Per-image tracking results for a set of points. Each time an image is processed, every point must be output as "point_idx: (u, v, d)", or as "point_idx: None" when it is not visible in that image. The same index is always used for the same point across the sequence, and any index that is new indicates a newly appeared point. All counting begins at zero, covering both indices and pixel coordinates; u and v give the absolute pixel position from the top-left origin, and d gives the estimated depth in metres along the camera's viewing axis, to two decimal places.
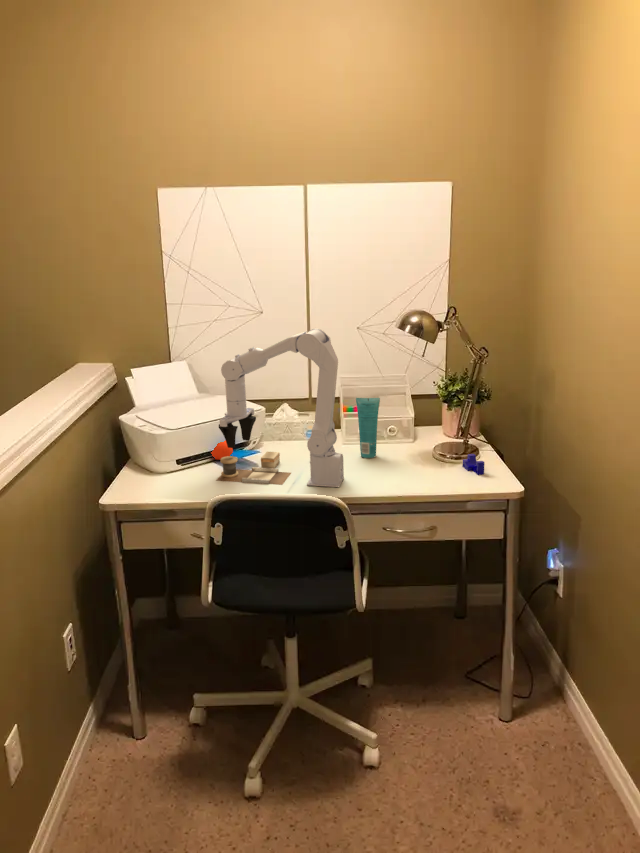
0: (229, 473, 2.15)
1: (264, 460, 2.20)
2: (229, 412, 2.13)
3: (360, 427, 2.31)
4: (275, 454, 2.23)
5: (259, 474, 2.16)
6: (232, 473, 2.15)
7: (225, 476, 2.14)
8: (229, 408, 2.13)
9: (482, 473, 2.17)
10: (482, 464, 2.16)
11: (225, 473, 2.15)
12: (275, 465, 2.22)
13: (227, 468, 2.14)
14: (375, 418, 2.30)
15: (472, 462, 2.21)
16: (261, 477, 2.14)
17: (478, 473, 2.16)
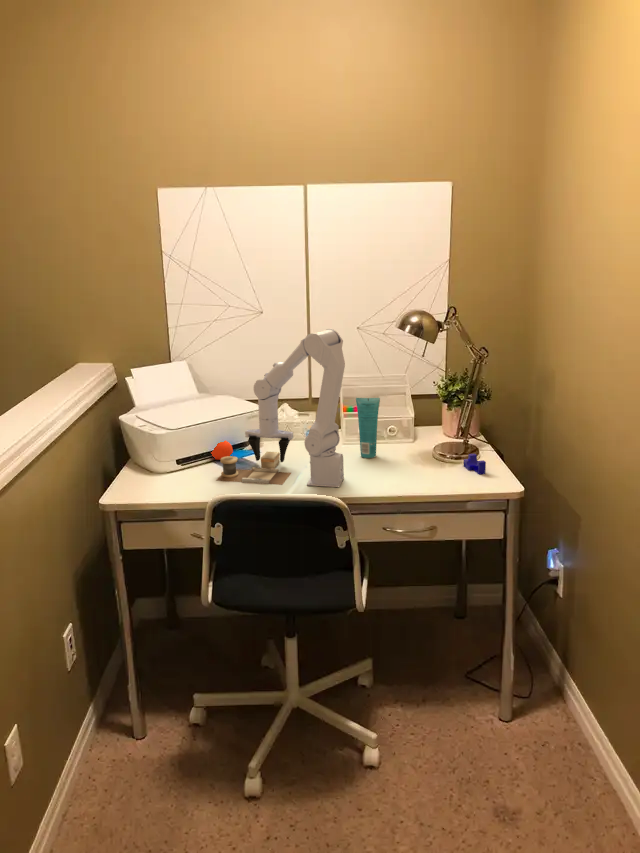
0: (229, 473, 2.15)
1: (264, 460, 2.20)
2: None
3: (360, 427, 2.31)
4: (275, 454, 2.23)
5: (259, 474, 2.16)
6: (232, 473, 2.15)
7: (225, 476, 2.14)
8: None
9: (484, 472, 2.17)
10: (483, 464, 2.16)
11: (225, 473, 2.15)
12: (275, 465, 2.22)
13: (227, 468, 2.14)
14: (375, 418, 2.30)
15: (473, 462, 2.21)
16: (261, 477, 2.14)
17: (479, 473, 2.17)
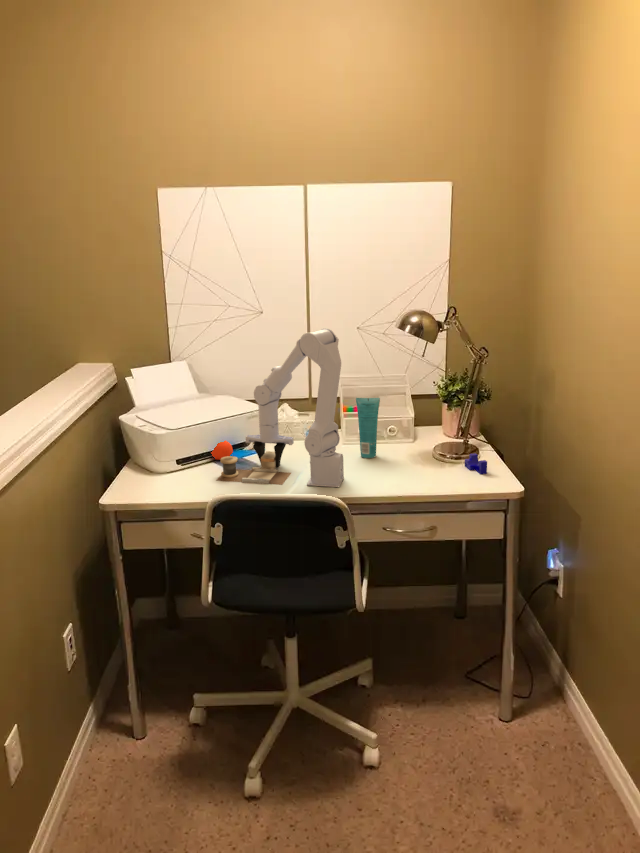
0: (229, 473, 2.15)
1: (264, 460, 2.20)
2: None
3: (360, 427, 2.31)
4: None
5: (259, 474, 2.16)
6: (232, 473, 2.15)
7: (225, 476, 2.14)
8: None
9: (485, 472, 2.17)
10: (485, 463, 2.16)
11: (225, 473, 2.15)
12: (275, 465, 2.22)
13: (227, 468, 2.14)
14: (375, 418, 2.30)
15: (474, 462, 2.22)
16: (261, 477, 2.14)
17: (481, 472, 2.17)
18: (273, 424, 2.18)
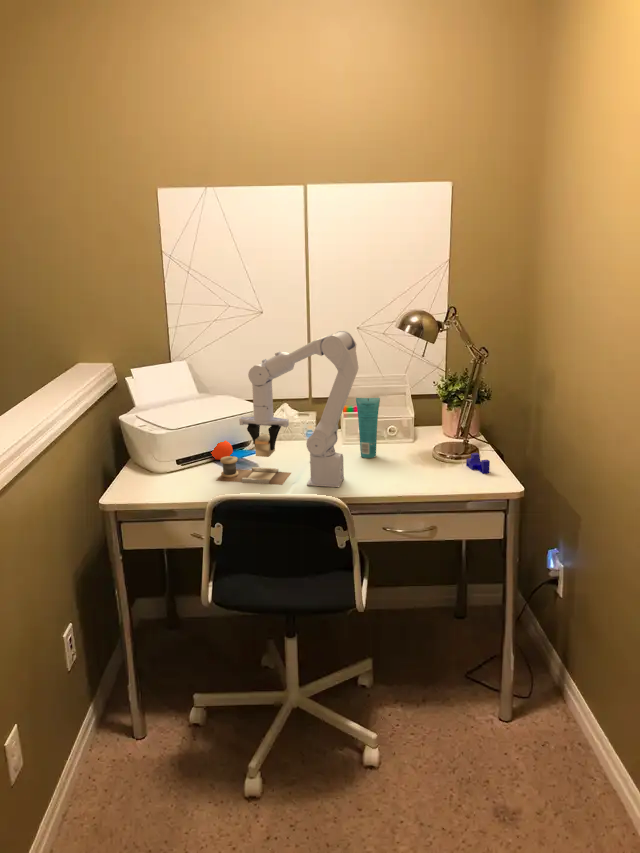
0: (229, 473, 2.15)
1: (258, 442, 2.14)
2: None
3: (360, 427, 2.31)
4: None
5: (259, 474, 2.16)
6: (232, 473, 2.15)
7: (225, 476, 2.14)
8: None
9: (488, 472, 2.17)
10: (487, 463, 2.17)
11: (225, 473, 2.15)
12: None
13: (227, 468, 2.14)
14: (375, 418, 2.30)
15: (476, 461, 2.22)
16: (261, 477, 2.14)
17: (483, 472, 2.17)
18: (267, 405, 2.11)
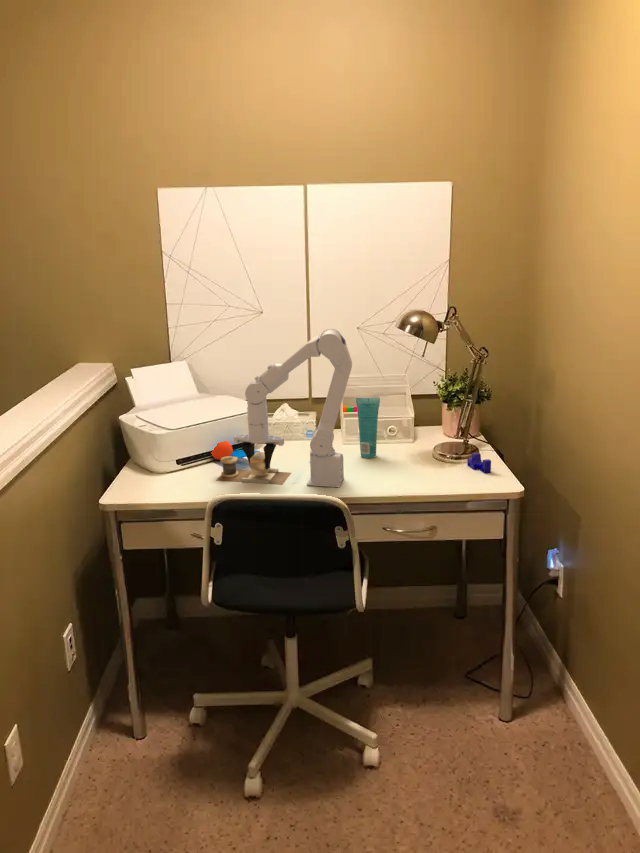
0: (229, 473, 2.15)
1: (253, 461, 2.10)
2: None
3: (360, 427, 2.31)
4: None
5: None
6: (232, 473, 2.15)
7: (225, 476, 2.14)
8: None
9: (489, 471, 2.18)
10: (489, 462, 2.17)
11: (225, 473, 2.15)
12: None
13: (227, 468, 2.14)
14: (375, 418, 2.30)
15: (477, 461, 2.22)
16: (261, 477, 2.14)
17: (485, 471, 2.17)
18: (262, 424, 2.08)
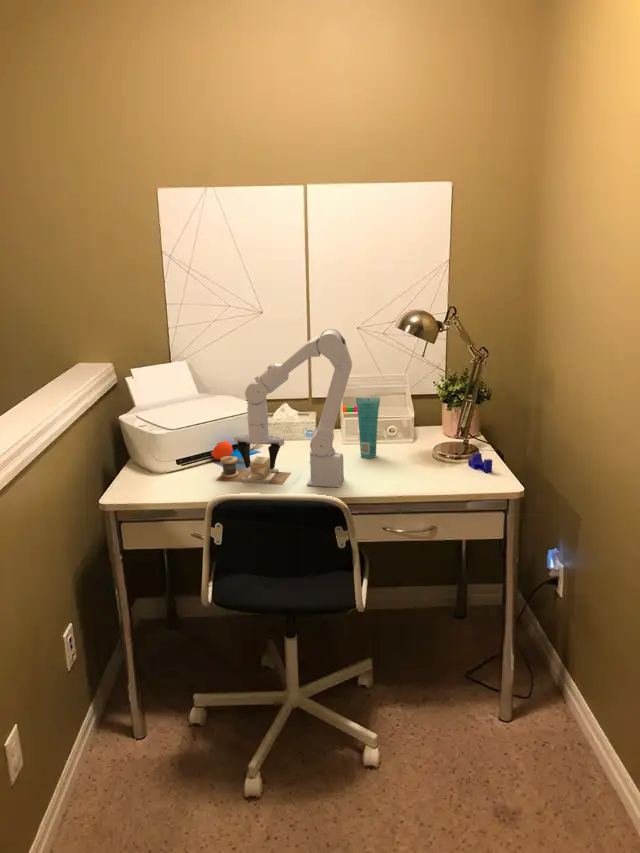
0: (229, 473, 2.15)
1: (253, 466, 2.11)
2: None
3: (360, 427, 2.31)
4: (265, 459, 2.14)
5: None
6: (232, 473, 2.15)
7: (225, 476, 2.14)
8: None
9: (490, 471, 2.18)
10: (490, 462, 2.17)
11: (225, 473, 2.15)
12: (265, 471, 2.12)
13: (227, 468, 2.14)
14: (375, 418, 2.30)
15: (478, 460, 2.22)
16: None
17: (486, 471, 2.18)
18: (262, 424, 2.08)
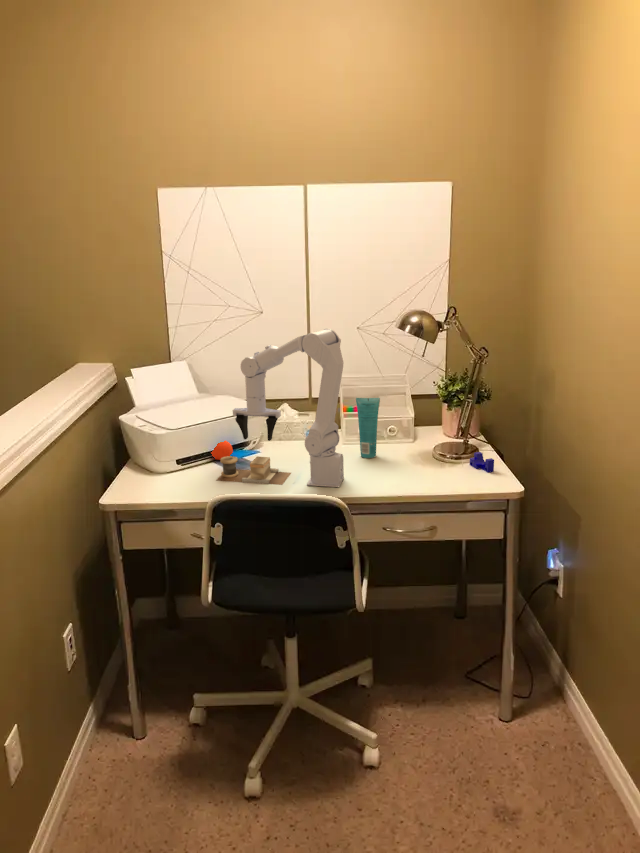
0: (229, 473, 2.15)
1: (253, 466, 2.11)
2: None
3: (360, 427, 2.31)
4: (265, 459, 2.14)
5: None
6: (232, 473, 2.15)
7: (225, 476, 2.14)
8: None
9: (492, 470, 2.18)
10: (492, 462, 2.18)
11: (225, 473, 2.15)
12: (265, 471, 2.12)
13: (227, 468, 2.14)
14: (375, 418, 2.30)
15: (480, 460, 2.23)
16: None
17: (488, 471, 2.18)
18: (260, 397, 2.17)
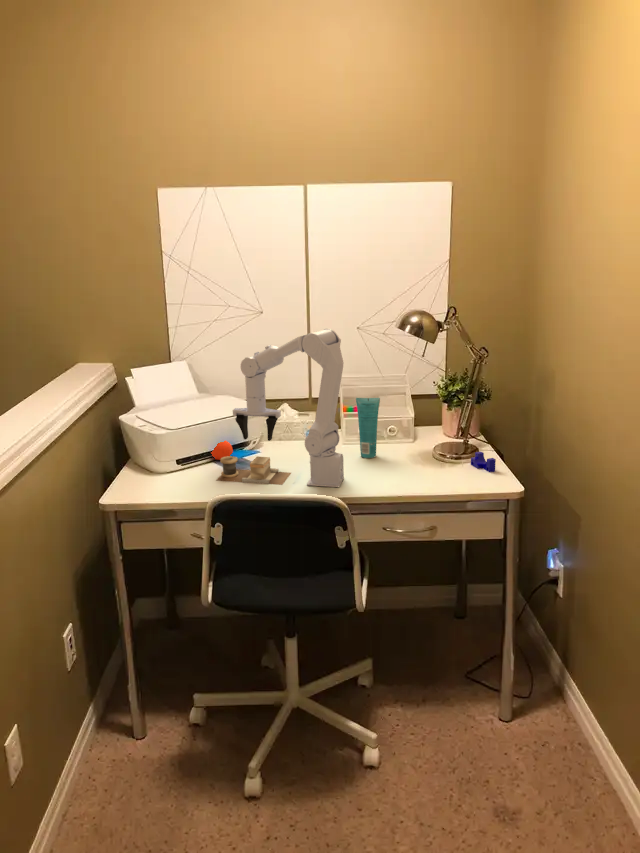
0: (229, 473, 2.15)
1: (253, 466, 2.11)
2: None
3: (360, 427, 2.31)
4: (265, 459, 2.14)
5: None
6: (232, 473, 2.15)
7: (225, 476, 2.14)
8: None
9: (494, 470, 2.19)
10: (493, 461, 2.18)
11: (225, 473, 2.15)
12: (265, 471, 2.12)
13: (227, 468, 2.14)
14: (375, 418, 2.30)
15: (481, 460, 2.23)
16: None
17: (490, 470, 2.18)
18: (260, 397, 2.17)
